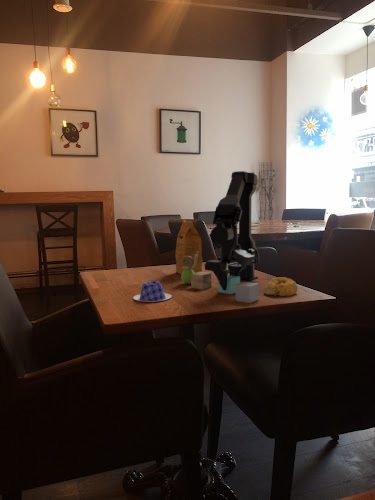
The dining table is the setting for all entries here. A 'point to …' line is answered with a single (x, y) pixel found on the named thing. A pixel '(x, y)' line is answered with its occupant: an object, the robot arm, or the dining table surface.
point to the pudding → (152, 292)
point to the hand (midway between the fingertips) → (229, 288)
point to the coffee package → (188, 246)
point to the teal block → (230, 284)
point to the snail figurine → (188, 268)
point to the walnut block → (201, 280)
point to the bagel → (281, 287)
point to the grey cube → (247, 292)
